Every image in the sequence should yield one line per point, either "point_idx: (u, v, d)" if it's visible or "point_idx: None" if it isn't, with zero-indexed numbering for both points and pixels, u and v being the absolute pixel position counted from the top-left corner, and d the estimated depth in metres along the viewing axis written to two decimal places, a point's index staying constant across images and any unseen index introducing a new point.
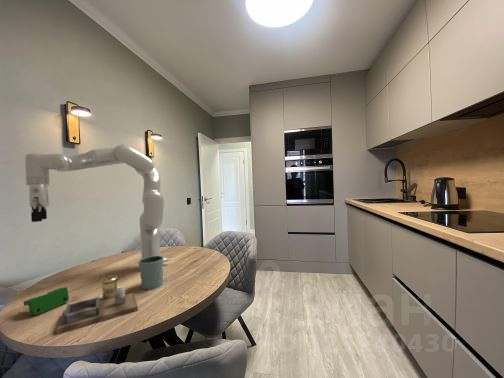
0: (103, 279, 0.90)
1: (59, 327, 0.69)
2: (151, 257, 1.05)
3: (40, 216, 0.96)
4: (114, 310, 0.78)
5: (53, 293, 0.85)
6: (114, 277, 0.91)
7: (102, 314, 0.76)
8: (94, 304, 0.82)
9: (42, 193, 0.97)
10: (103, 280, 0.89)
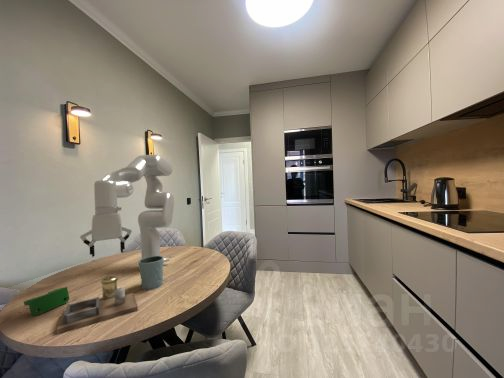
0: (103, 279, 0.90)
1: (59, 327, 0.69)
2: (151, 257, 1.05)
3: None
4: (114, 310, 0.78)
5: (53, 293, 0.85)
6: (114, 277, 0.91)
7: (102, 314, 0.76)
8: (94, 304, 0.82)
9: None
10: (103, 280, 0.89)
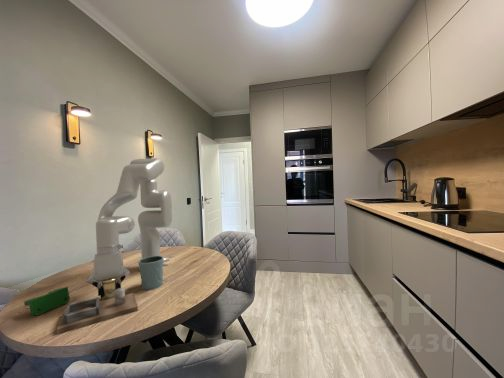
0: None
1: (59, 327, 0.69)
2: (151, 257, 1.05)
3: None
4: (114, 310, 0.78)
5: (54, 293, 0.85)
6: None
7: (102, 314, 0.76)
8: (94, 304, 0.82)
9: None
10: (103, 280, 0.89)
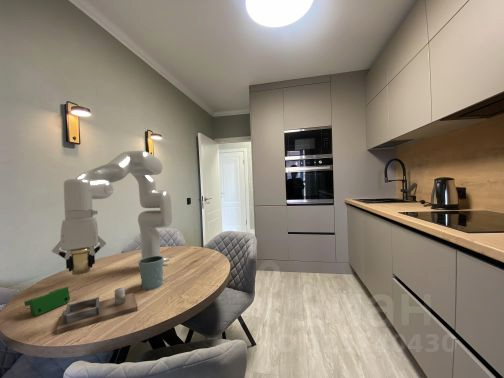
0: None
1: (59, 327, 0.69)
2: (151, 257, 1.05)
3: None
4: (114, 310, 0.78)
5: (54, 293, 0.85)
6: None
7: (102, 314, 0.76)
8: (94, 304, 0.82)
9: None
10: (72, 250, 0.75)
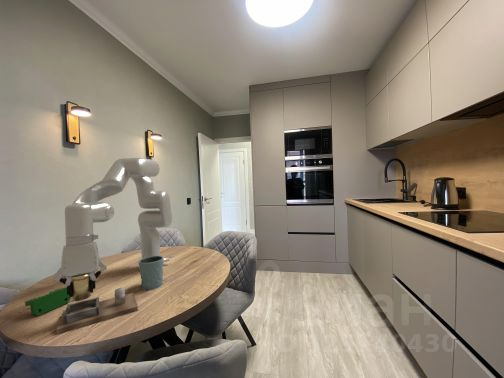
0: None
1: (59, 327, 0.69)
2: (151, 257, 1.05)
3: None
4: (114, 310, 0.78)
5: (54, 293, 0.84)
6: (87, 273, 0.78)
7: (102, 314, 0.76)
8: (94, 304, 0.82)
9: None
10: (73, 276, 0.75)
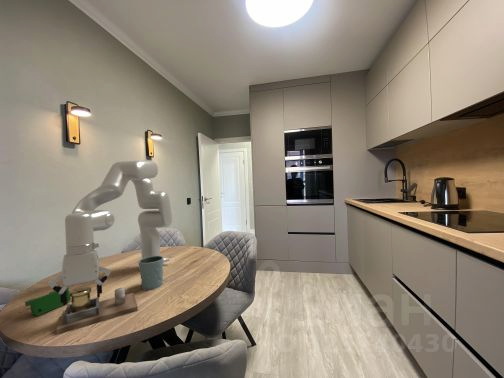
0: (73, 291, 0.76)
1: (59, 327, 0.69)
2: (151, 257, 1.05)
3: None
4: (114, 310, 0.78)
5: (55, 293, 0.84)
6: (87, 289, 0.78)
7: (102, 314, 0.76)
8: (94, 304, 0.82)
9: None
10: (73, 293, 0.75)
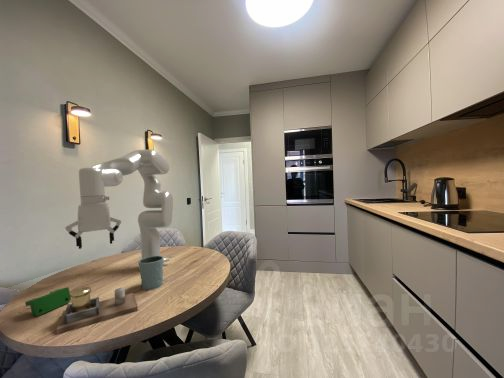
0: (73, 291, 0.76)
1: (59, 327, 0.69)
2: (151, 257, 1.05)
3: None
4: (114, 310, 0.78)
5: (55, 293, 0.84)
6: (87, 289, 0.77)
7: (102, 314, 0.76)
8: (94, 304, 0.82)
9: None
10: (73, 293, 0.75)
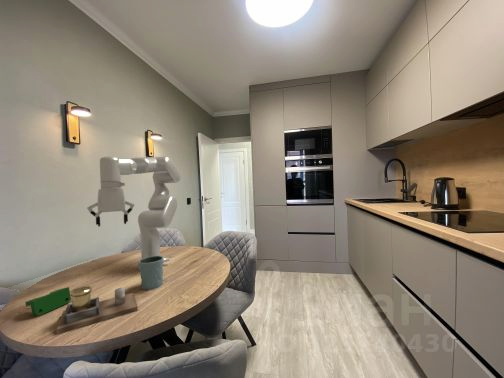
0: (74, 291, 0.76)
1: (59, 327, 0.69)
2: (151, 257, 1.05)
3: None
4: (114, 310, 0.78)
5: (55, 293, 0.84)
6: (87, 288, 0.78)
7: (102, 314, 0.76)
8: (94, 304, 0.82)
9: None
10: (73, 292, 0.75)
